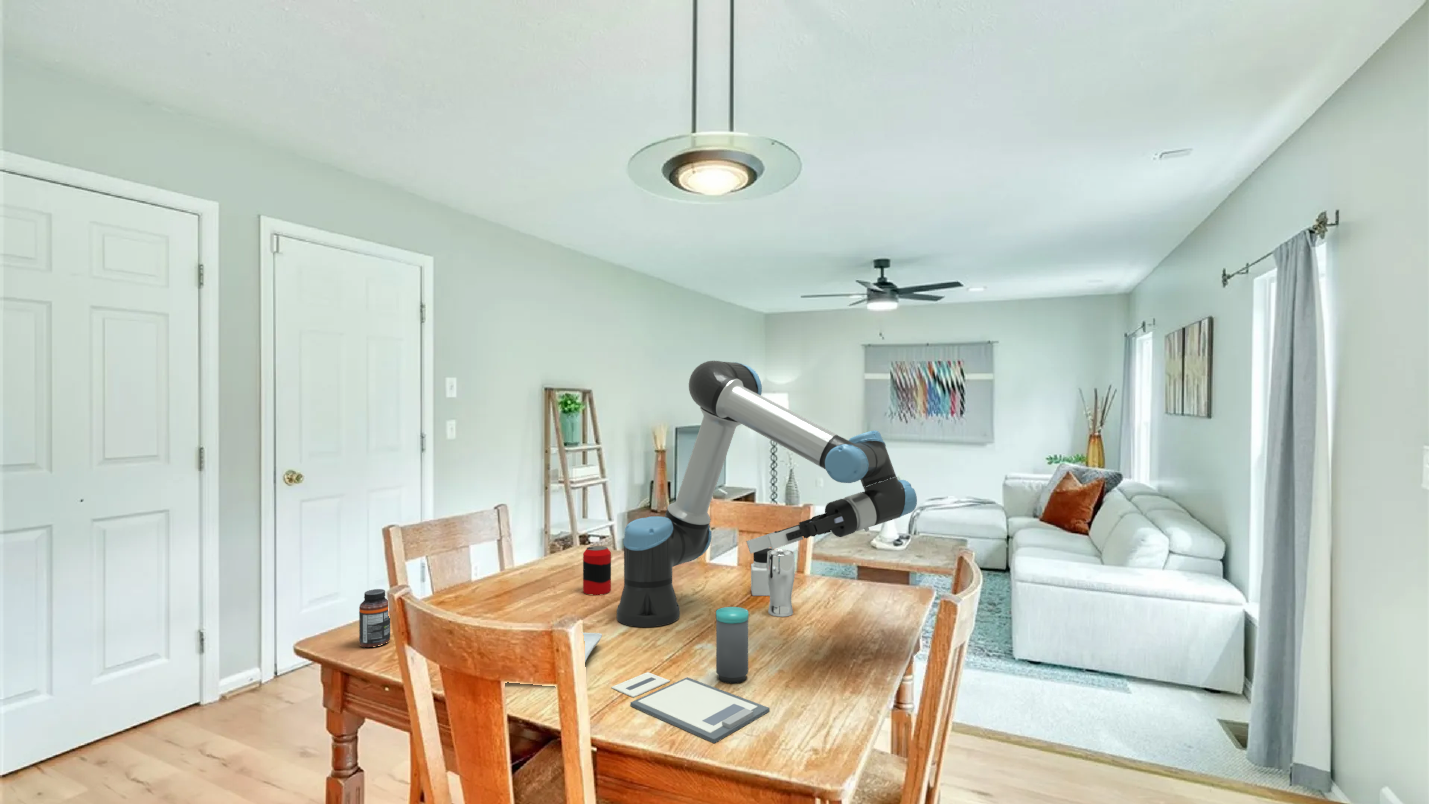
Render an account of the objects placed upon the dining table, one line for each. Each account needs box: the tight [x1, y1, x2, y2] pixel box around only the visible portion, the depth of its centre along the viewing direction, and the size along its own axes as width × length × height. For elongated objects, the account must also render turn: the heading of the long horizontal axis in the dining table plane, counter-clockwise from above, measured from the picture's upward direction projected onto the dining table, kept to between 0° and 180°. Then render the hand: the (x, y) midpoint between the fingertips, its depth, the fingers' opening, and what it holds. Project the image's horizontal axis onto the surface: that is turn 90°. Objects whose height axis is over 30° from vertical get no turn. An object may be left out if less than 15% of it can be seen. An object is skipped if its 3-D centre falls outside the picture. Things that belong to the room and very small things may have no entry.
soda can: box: [582, 545, 612, 596], centre depth 182 cm, size 8×8×12 cm
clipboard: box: [629, 676, 770, 744], centre depth 112 cm, size 19×14×1 cm
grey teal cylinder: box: [715, 606, 749, 685], centre depth 125 cm, size 6×6×12 cm
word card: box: [611, 671, 671, 698], centre depth 121 cm, size 6×9×1 cm, turn 139°
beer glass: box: [767, 548, 796, 618], centre depth 164 cm, size 7×7×15 cm
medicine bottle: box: [750, 547, 775, 597], centre depth 182 cm, size 7×7×12 cm
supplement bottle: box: [358, 588, 391, 648], centre depth 142 cm, size 6×6×11 cm
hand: (758, 545), depth 133 cm, fingers open, 13 cm apart
